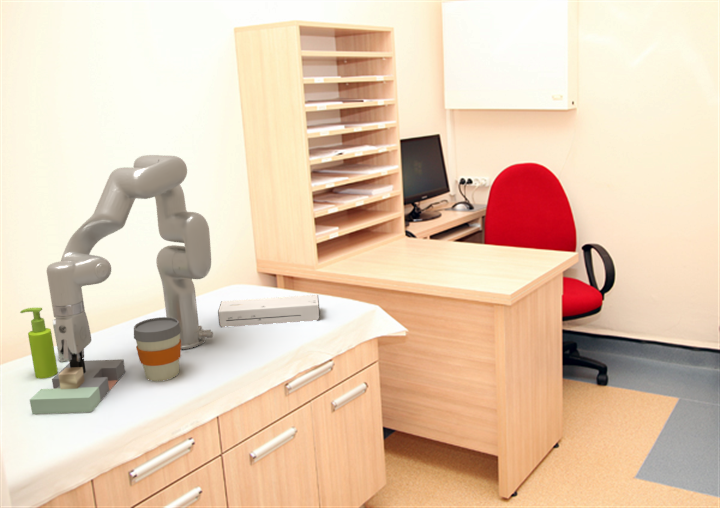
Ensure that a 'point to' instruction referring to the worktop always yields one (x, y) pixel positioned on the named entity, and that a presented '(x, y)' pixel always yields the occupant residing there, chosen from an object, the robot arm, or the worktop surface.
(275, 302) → the laminator
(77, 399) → the board
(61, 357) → the skincare box
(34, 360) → the soap dispenser
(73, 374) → the maple block
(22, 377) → the worktop surface
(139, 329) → the reusable coffee cup
